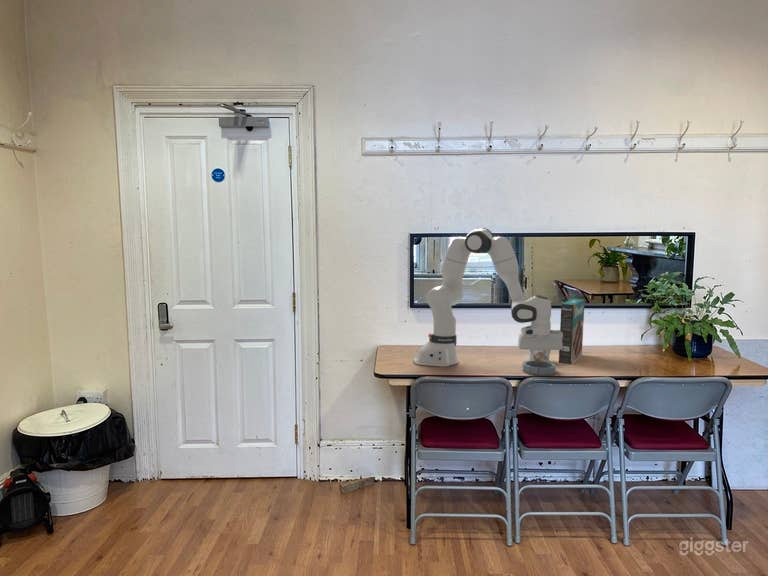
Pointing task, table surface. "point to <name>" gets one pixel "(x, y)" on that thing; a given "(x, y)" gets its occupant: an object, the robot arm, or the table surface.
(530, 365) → the round dish
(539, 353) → the wooden bead
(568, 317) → the cake mix box
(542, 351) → the supplement box
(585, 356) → the table surface
